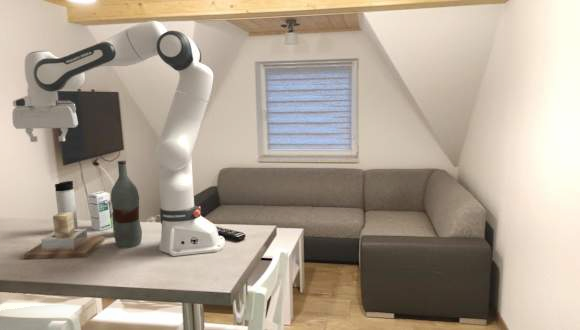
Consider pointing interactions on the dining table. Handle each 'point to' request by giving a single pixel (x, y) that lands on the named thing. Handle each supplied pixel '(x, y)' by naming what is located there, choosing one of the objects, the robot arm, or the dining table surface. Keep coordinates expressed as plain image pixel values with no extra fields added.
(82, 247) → the walnut base
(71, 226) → the birch pin
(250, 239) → the dining table surface
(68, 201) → the travel mug
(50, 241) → the steel collar
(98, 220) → the syrup box
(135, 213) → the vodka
